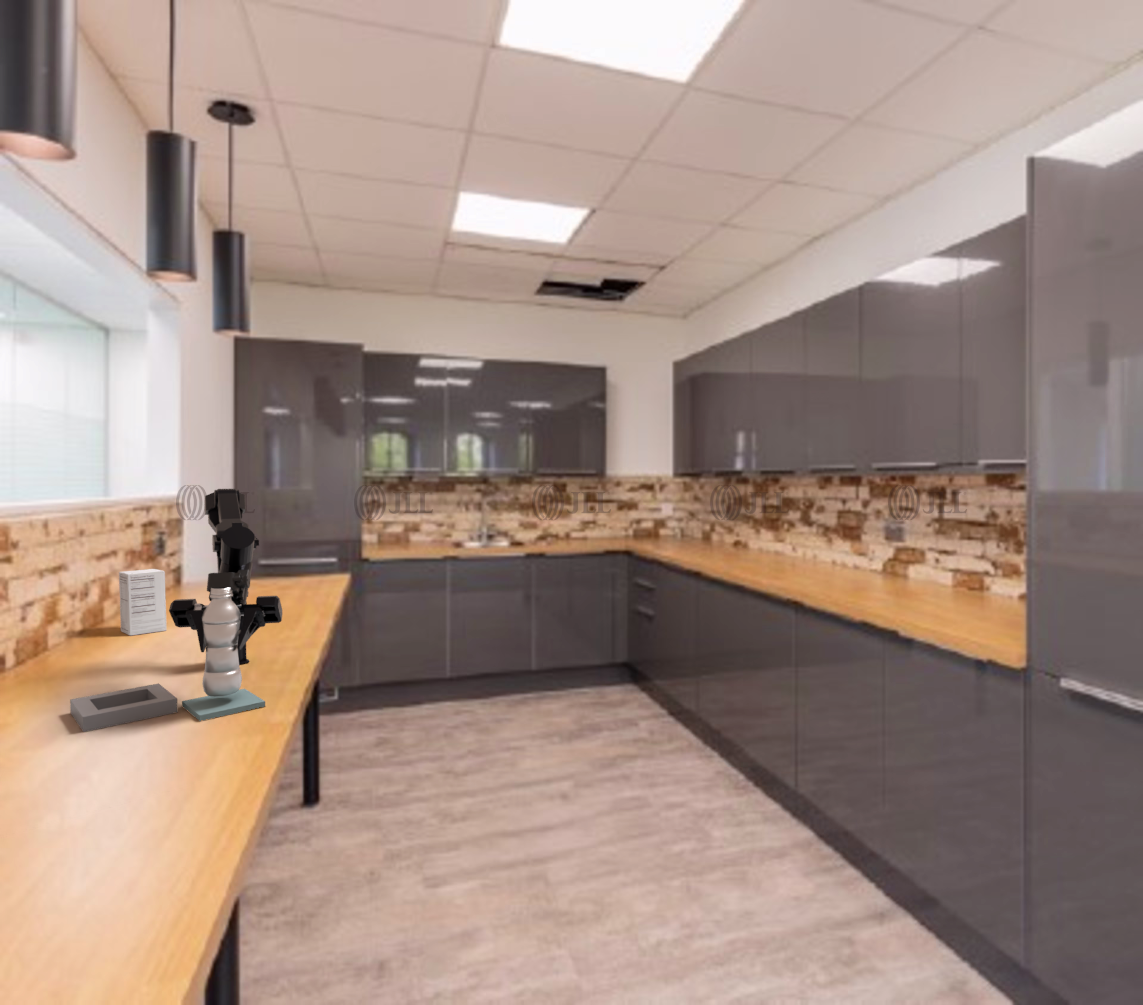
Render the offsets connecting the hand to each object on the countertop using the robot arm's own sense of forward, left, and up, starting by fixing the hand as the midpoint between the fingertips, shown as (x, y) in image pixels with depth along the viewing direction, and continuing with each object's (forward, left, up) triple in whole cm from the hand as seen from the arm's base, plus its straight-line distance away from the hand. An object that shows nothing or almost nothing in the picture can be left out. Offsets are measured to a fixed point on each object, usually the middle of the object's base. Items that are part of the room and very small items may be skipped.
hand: (220, 650), depth 126 cm
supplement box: (-6, -87, -11) cm, 88 cm away
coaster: (-1, -1, -11) cm, 11 cm away
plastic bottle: (-1, -1, -9) cm, 9 cm away
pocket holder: (+13, -10, -11) cm, 20 cm away
